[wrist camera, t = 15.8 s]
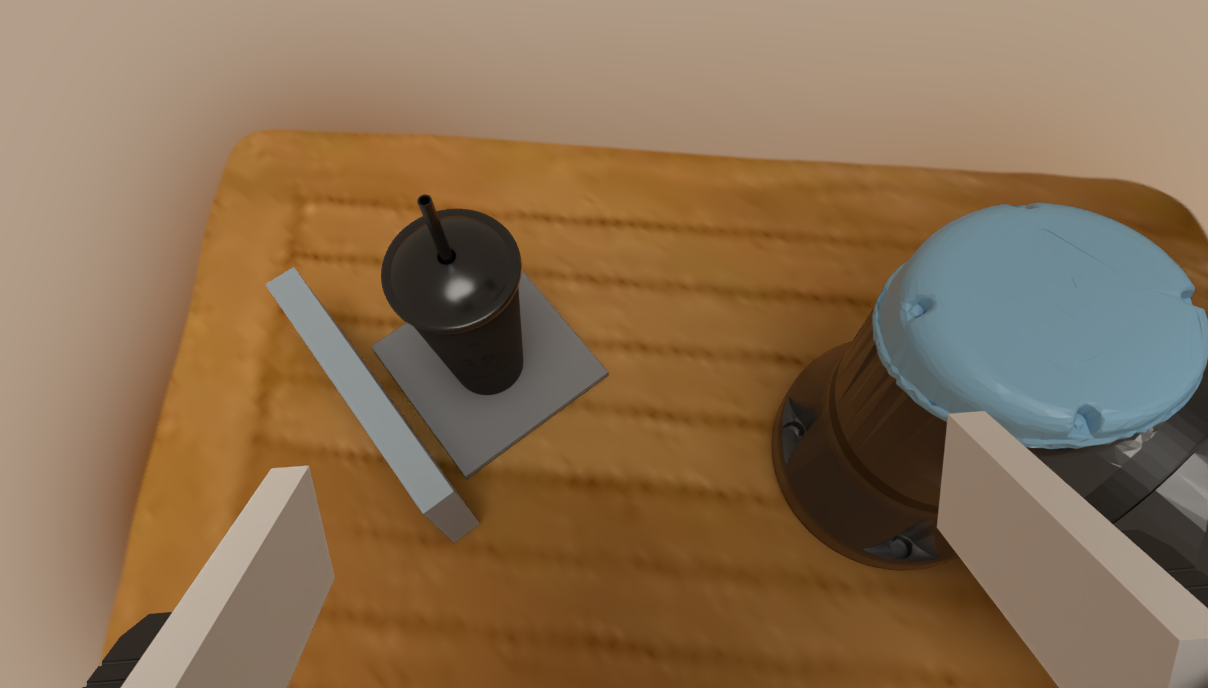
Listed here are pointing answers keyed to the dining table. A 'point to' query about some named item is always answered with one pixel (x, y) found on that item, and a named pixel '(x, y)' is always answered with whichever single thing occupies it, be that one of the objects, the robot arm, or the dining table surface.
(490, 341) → the drinking cup
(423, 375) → the rubber mat
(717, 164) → the dining table surface
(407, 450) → the low wall
